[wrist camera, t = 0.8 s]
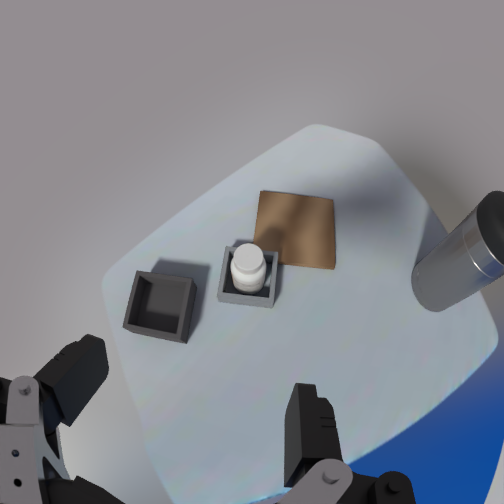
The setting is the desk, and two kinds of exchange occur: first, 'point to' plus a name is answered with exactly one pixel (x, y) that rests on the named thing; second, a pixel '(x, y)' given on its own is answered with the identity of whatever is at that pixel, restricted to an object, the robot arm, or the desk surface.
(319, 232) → the walnut pad
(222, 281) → the sleeve
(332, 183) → the desk surface
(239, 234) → the desk surface
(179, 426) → the desk surface
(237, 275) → the pill bottle
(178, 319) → the box
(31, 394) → the robot arm
